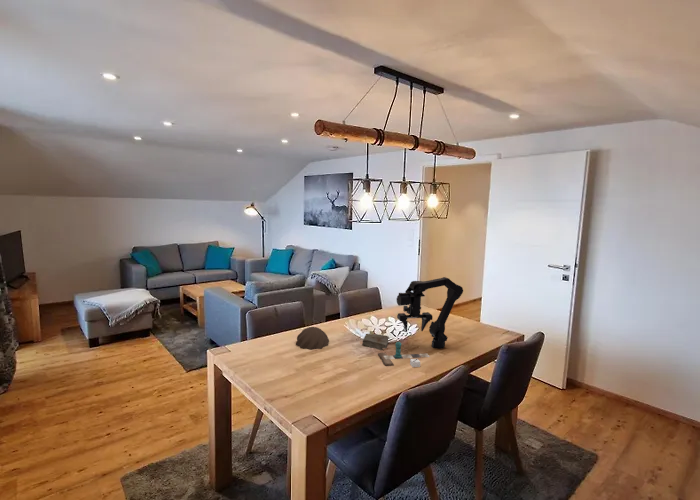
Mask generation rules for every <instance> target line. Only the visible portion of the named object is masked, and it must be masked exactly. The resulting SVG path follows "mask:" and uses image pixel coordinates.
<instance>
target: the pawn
mask: <svg viewBox="0 0 700 500" xmlns="http://www.w3.org/2000/svg"><path fill="white" fill-rule="evenodd" d="M394 345H395V353H394V355H395V358H401V357H403V356H402V355H403V354H402V353H401V350H402V349H401V348H402V342H400V341H396V342H395V344H394ZM395 358H394V359H395Z"/></svg>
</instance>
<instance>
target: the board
mask: <svg viewBox="0 0 700 500" xmlns="http://www.w3.org/2000/svg"><path fill="white" fill-rule="evenodd" d="M377 355H378V357H379V358H380V360H381V362H382V363H383V365H384V366H385V367H392V366H393V367H394V366H395V364H394V362H393V360H401V359H419V358H430V357H431V356H430V355H429V353H411V354H408V353H407V354H401V355H402V357H401V358H395V354H393V355H392V354H391V355H388V354H387V353H386V351H385V352H378V353H377Z"/></svg>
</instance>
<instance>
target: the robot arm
mask: <svg viewBox="0 0 700 500" xmlns="http://www.w3.org/2000/svg"><path fill="white" fill-rule="evenodd" d="M443 286H445V288H447V291H446V299H445V301H444V304H443V306H442V308H441V309H440V312H439V314H438V317H437V319H436V320H435V321H433V315H432V314H431V313H430V312H428V311H427V312H425V311H423V312H422V313H421V310H422V305H421V304H422V303H421V301H422V298H423V297H425V296H426V295H425V294H424V292H426V291H427V290H430V289H435V288H438V287H443ZM463 292H464V289H463V287H462V286H461V285H459V284H457V283H455V282H454V281H453V280H451V279H450V278H448V277H446V276H443V277H440V278H434V279H429V280H412V281H411V282H410V284H409V286H408V287H407V288H406V290H405V291H404V292H398V295H397V297H396V303H397V304H396V305H398V306H399V307H400V306H403V312H402V313H401V312H399V313H398V312H397V314H396V315H397V316H396V319H398V320H399V321H400V322H401V323H402V325H403V327H404V331H405V332H406V333H407V332H408V323H409V322H408V319H421V326H420V327H421V329H420V330H421V332H423V331H424V330H425V328H426V326H427V324H428V323H430V322H431V323H430V324H429V327H428V332H429V334H431V335H430V336H431V337H432V341H431V347H432V348H433V349H437V350H442V349H445V348H446V342H447V341H448V336H447V335H446V334H445V330H446V323H447V320H448V317H449V316H450V313H451V311H452V309H453V307H454V305H455V302H456V301H457V300H458V299H460V298H461V297H462V295H463V294H464V293H463Z"/></svg>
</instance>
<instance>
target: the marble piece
mask: <svg viewBox="0 0 700 500" xmlns="http://www.w3.org/2000/svg"><path fill="white" fill-rule="evenodd" d="M388 339H390V337H389V336H388V335H385V334H378V333H365V335H364V337H363V339H362V343H361V344H362V346H364V347H366V348H370V349H375V350H379V351H385V349H387V347H388V344H389V340H388Z"/></svg>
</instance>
